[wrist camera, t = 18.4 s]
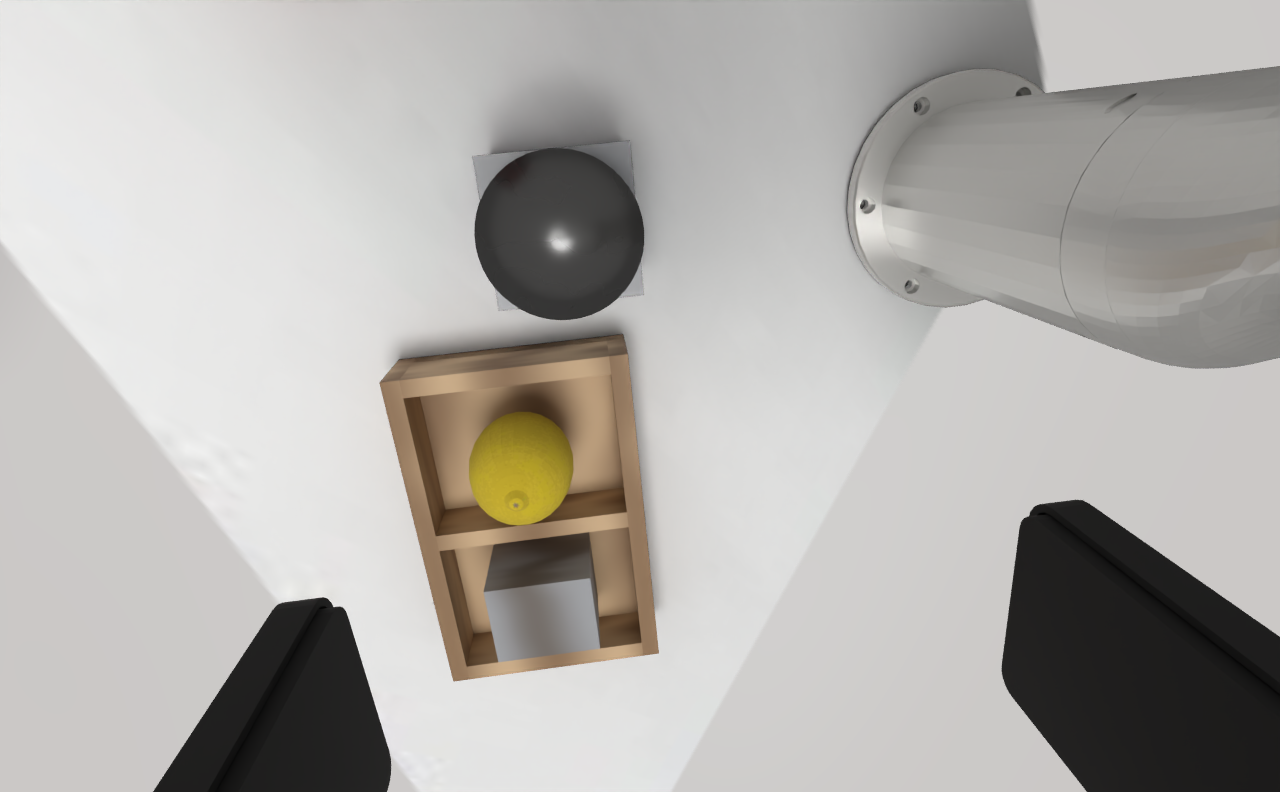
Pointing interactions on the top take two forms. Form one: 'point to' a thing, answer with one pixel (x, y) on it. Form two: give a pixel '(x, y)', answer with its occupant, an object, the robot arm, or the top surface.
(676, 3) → the top surface
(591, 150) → the mount
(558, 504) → the lemon
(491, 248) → the plunger
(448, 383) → the caddy
